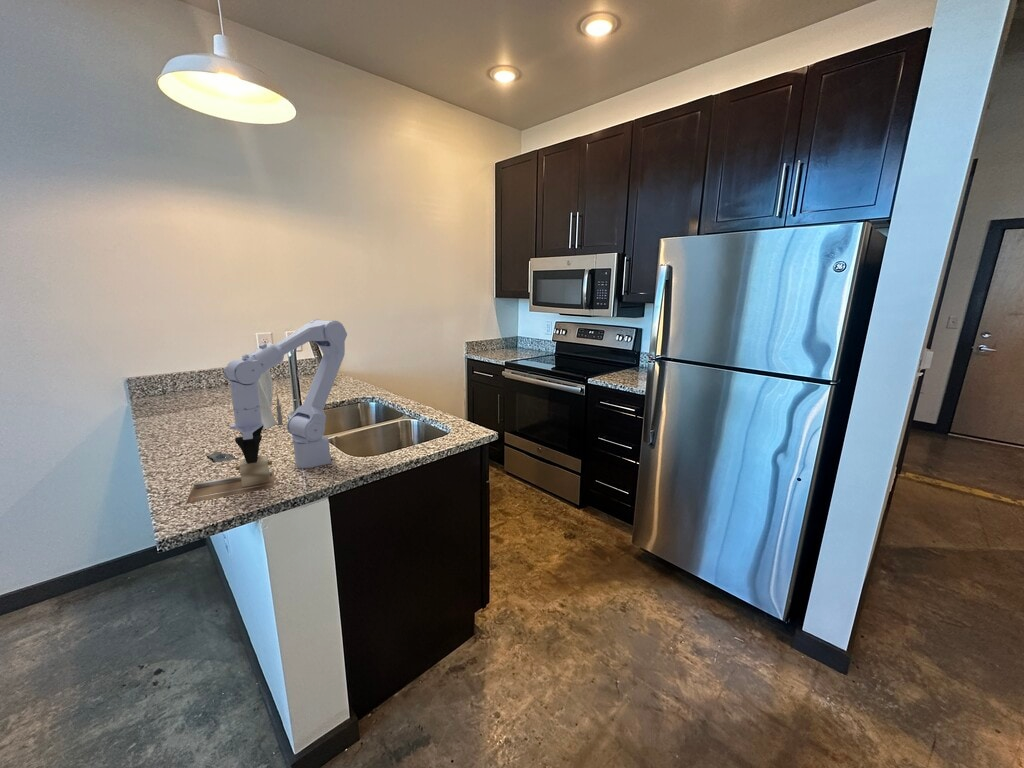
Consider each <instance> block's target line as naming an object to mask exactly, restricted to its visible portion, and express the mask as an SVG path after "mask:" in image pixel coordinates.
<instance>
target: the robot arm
mask: <svg viewBox="0 0 1024 768" xmlns="http://www.w3.org/2000/svg"><path fill="white" fill-rule="evenodd" d="M347 337H348V333H347V331H346V328H345V326H344V325H343V323H342V322H340V321H339V320H322V319H318V318H317V319H313V320H311V321H310V322H306V323H305V324H303V326H301V327H300V328H299V329H296V330H295V331H294V332H292V333H290V335H288V336H287V337H285V338H283V339H281V340H280V341H279V342H276V344H273V343H271V342H269V343H261V344H259V345H258V348H257V349H255V350H253V351H252V352H250V353H248V354H247V353H245V354H243V355H242V356H241V357H242V358H241V359H232V360H231V361H229V362H228V363H227V366H225V368H224V371H223V375H224V377H225V379H226V380H227V381H229V385H230V393H231V401H232V409H233V416H234V417H233V418H234V424H233V423H232V424H230V425H229V429H230V430H236V431H238V432H239V433H240V434H241V436H238V437H237V436H236V437H235V438H234V442H235V443H236V444H237V446H238V447H239V448H240V451H242V455H243V456H244V459H245V460H246V462H247V464H250V463H256V462H257V460H258V457H259V450H260V443H261V441H262V438H263V435H262V431H263V430H262V429H263V422H262V419H261V410H260V402H259V394H258V386H257V381H258V380H259V379H260V377H261V374H263V373H264V372H266V371H268V370H270V369H272V368H274V367H276V366H277V365H279V364H280V363H282V362H283V361H284V357H285V355H286V354H288V353H290V352H292V351H294V350H296V349H297V348H299V347H302V346H303V345H304V344H307V343H308V342H314V343H315V344H316V345H317V346H318V347H319V348H320V351H321V353H322V357H321V359H320V362H319V364H318V367H317V369H316V372H315V374H314V376H313V378H312V379H313V380H312V382H311V384H310V387H309V388H308V392H307V394H306V397H305V399H304V402H303V404H302V405H299V406H298V407H297V408H296V409H295V411H294V413H293V415H292V416H291V417H289V418H288V419H287V422H286V430H287V431H288V433H289V434H290V435H292V442H293V443H292V444H293V445H292V446H293V451H294V454H293V455H294V461H295V462H294V463H295V467H296V468H298V469H299V468H300V469H308V468H310V469H311V468H313V467H318V466H323V465H328V464H331V463H332V461H331V460H332V456H331V455H332V454H331V451H330V450H331V449H330V441H329V437H328V436H327V435H325V436H323V435H324V433H325V431H326V430H325V429H326V426H325V425H326V421H327V416H326V414H325V411H324V408H325V406H326V403H327V401H328V399H329V396H330V393H331V391H332V388H333V385H334V383H335V380H336V378H337V376H338V373H339V370H340V367H341V365H342V363H343V361H344V357H345V355H346V354H345V342H346V338H347Z"/></svg>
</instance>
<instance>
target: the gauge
mask: <svg viewBox="0 0 1024 768" xmlns="http://www.w3.org/2000/svg"><path fill="white" fill-rule="evenodd" d="M272 465H273V461H272V460H268V455H263V456H258V460H257V462H256V463H250V464H247V462H246V460H245V458H242V459H240V461H239V465H236V466H235V471H239V473H240V476H241V481H242V487H245V486H250V485H256V484H261V483H267V482H269V481H270V474H269V471H270V469H269V466H272Z"/></svg>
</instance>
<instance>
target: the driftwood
mask: <svg viewBox="0 0 1024 768" xmlns="http://www.w3.org/2000/svg"><path fill="white" fill-rule="evenodd" d="M221 452H222V451H215V452H212V453H210V454H208V455H206V457H209V458H210V459H213V460H212V462H213V463H214V462H215V463H220V462H229V461H232V460H233V461H234V459H235V460H239V457H237V458H235V456H236V455H235V456H234V457H233V455H234V454H231V453H223V454H222V453H221ZM230 454H231V455H230ZM225 457H226V458H225Z"/></svg>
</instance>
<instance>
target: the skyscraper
mask: <svg viewBox="0 0 1024 768" xmlns="http://www.w3.org/2000/svg"><path fill="white" fill-rule="evenodd" d="M257 386H258V394H259V402H260V410H261V419H262V422H263V429H267V428H271V427H272V426H275V425H277V424H278V425H283V426H284V422H283V415H282V405H280V399H279V396H278V395H279V394H276V403H277V404H276V406H275V407H276V413H277V415H276V418H277V419H276V418H275V416H274V414H273V413H274V412H273V410H272V403H273V394H274V392H273V391H274V387H273V386H274V385H273V378H272V373H271V372H270V369H269V370H268V371H266V372H264V373H263V374H261V377H260V379H259V380H258V381H257ZM276 420H277V421H276Z"/></svg>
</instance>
